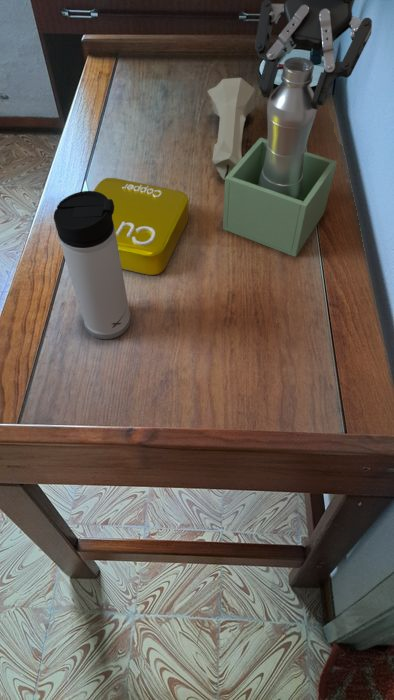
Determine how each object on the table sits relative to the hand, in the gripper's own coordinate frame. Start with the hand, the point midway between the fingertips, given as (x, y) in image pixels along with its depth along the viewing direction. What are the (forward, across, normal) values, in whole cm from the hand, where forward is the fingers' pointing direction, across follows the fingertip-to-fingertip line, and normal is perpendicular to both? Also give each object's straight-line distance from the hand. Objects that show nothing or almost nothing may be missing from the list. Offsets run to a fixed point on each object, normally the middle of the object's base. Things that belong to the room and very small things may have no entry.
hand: (289, 100), depth 64 cm
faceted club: (+3, -15, +27) cm, 31 cm away
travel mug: (+34, -14, -5) cm, 37 cm away
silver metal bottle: (+10, 0, +13) cm, 17 cm away
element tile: (+22, -19, +7) cm, 30 cm away
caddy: (+14, 0, +16) cm, 21 cm away
